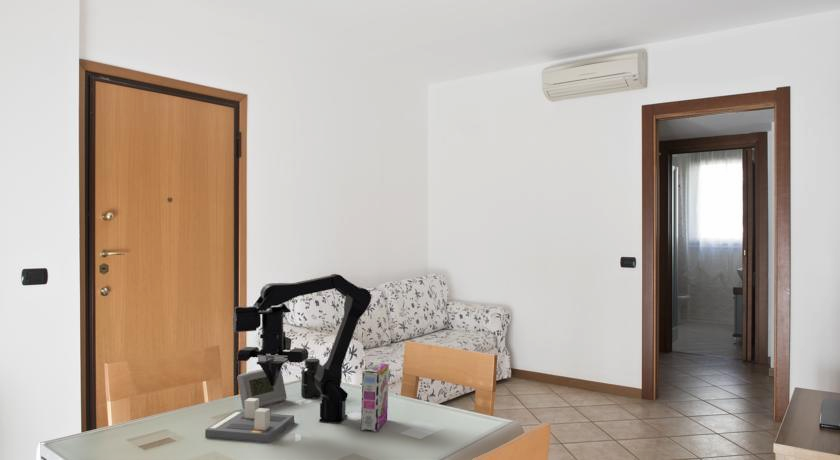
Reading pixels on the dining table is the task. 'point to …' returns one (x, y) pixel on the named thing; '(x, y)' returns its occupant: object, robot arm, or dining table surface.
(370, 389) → the candy bar box
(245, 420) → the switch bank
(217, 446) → the dining table surface
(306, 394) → the supplement bottle
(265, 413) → the switch tab
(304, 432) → the dining table surface
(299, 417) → the dining table surface
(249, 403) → the switch tab
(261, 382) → the digital clock
